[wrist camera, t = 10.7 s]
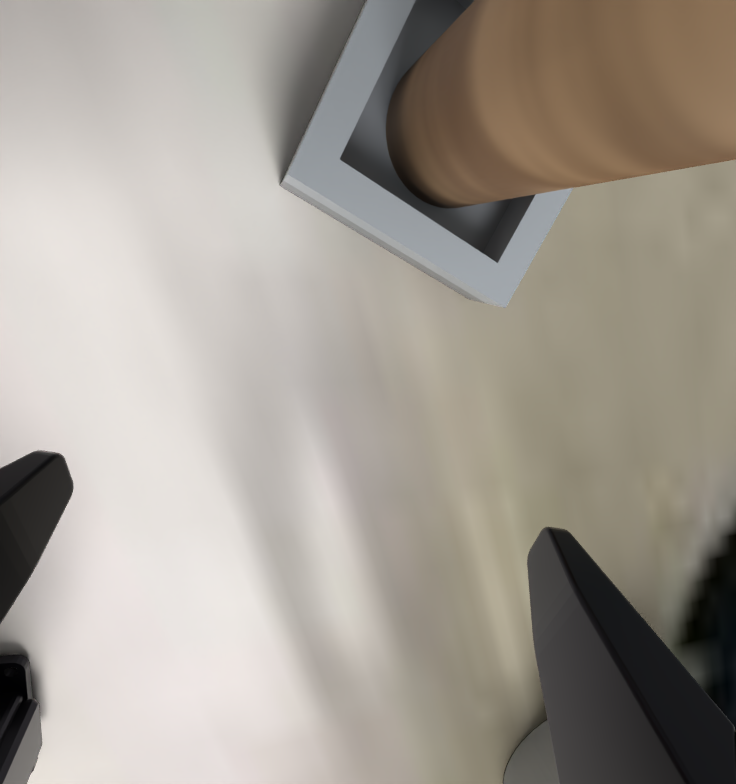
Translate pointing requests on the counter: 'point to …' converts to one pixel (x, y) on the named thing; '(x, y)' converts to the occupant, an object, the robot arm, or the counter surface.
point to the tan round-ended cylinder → (564, 97)
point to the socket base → (379, 179)
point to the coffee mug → (533, 760)
